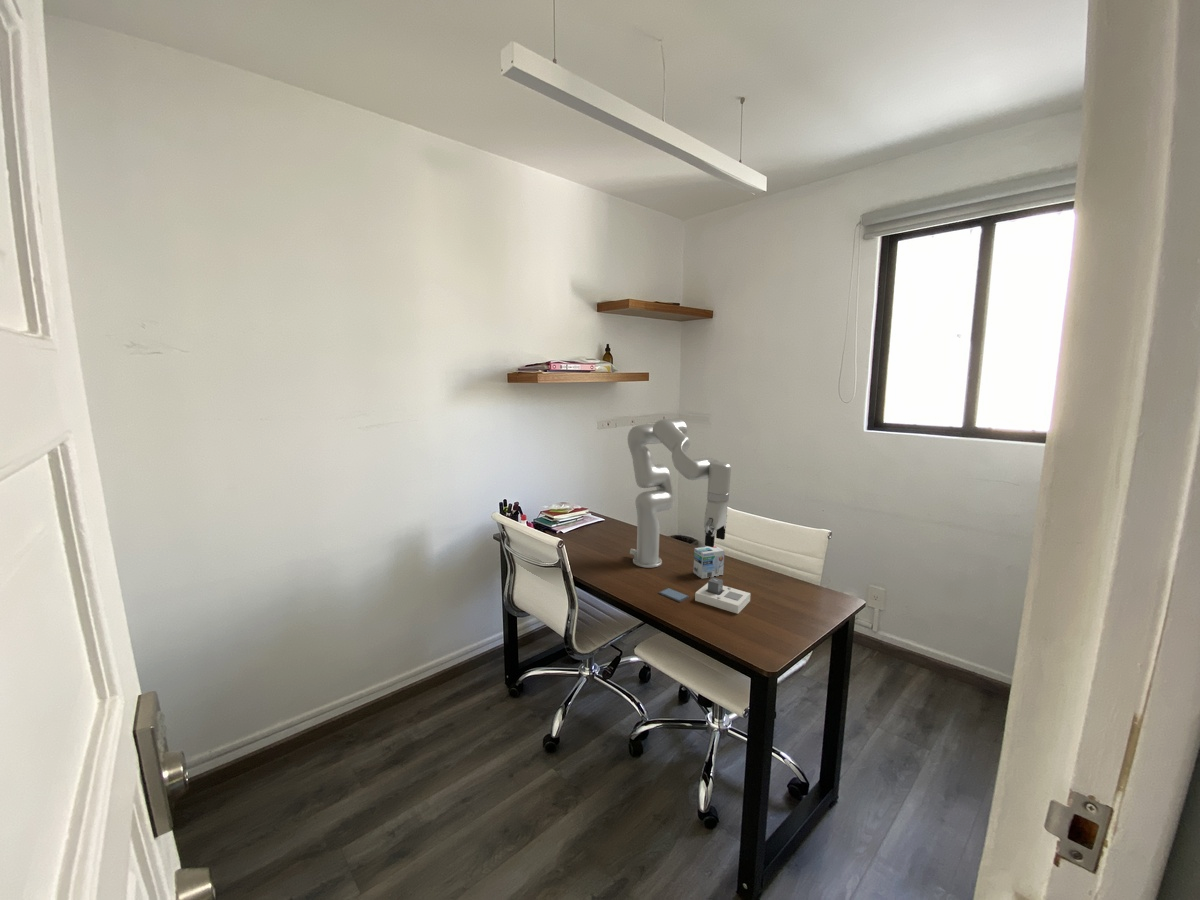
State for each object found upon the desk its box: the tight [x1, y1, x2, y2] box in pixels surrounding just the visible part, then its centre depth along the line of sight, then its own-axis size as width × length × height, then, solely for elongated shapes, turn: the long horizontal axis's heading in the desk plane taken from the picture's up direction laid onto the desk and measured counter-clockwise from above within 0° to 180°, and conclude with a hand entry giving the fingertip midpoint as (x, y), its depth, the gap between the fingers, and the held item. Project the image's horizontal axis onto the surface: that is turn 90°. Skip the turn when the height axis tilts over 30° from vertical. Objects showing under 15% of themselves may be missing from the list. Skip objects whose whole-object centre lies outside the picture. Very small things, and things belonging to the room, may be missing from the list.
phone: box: [657, 587, 691, 603], centre depth 177 cm, size 10×6×1 cm, turn 44°
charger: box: [707, 577, 724, 595], centre depth 174 cm, size 4×4×7 cm
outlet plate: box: [694, 582, 751, 614], centre depth 173 cm, size 16×12×3 cm
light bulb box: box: [692, 544, 725, 579], centre depth 196 cm, size 11×7×11 cm, turn 112°
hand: (714, 542), depth 173 cm, fingers open, 9 cm apart
